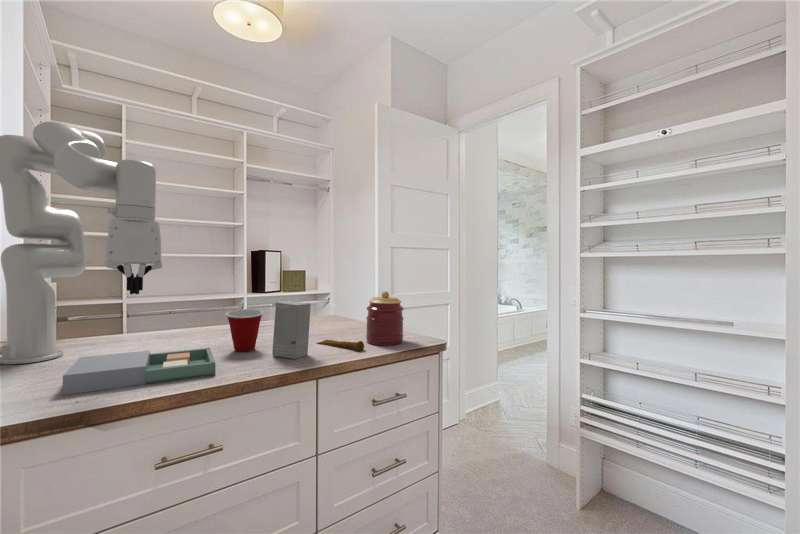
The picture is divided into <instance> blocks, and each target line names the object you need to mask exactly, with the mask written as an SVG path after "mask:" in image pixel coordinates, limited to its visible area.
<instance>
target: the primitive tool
mask: <svg viewBox="0 0 800 534" xmlns="http://www.w3.org/2000/svg"><path fill="white" fill-rule="evenodd" d="M315 344H316V345H322V346H329V347H333V348H340V349H346V350H350V351H351V350H353V351H356V352H357V353H359V352H363V351H364V349H365V344H364V342H363V341H362V340H360V341H358V342H357V341H345V340H344V341H337V340H333V339H325V340H322V341H318V342H316V343H315Z"/></svg>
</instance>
